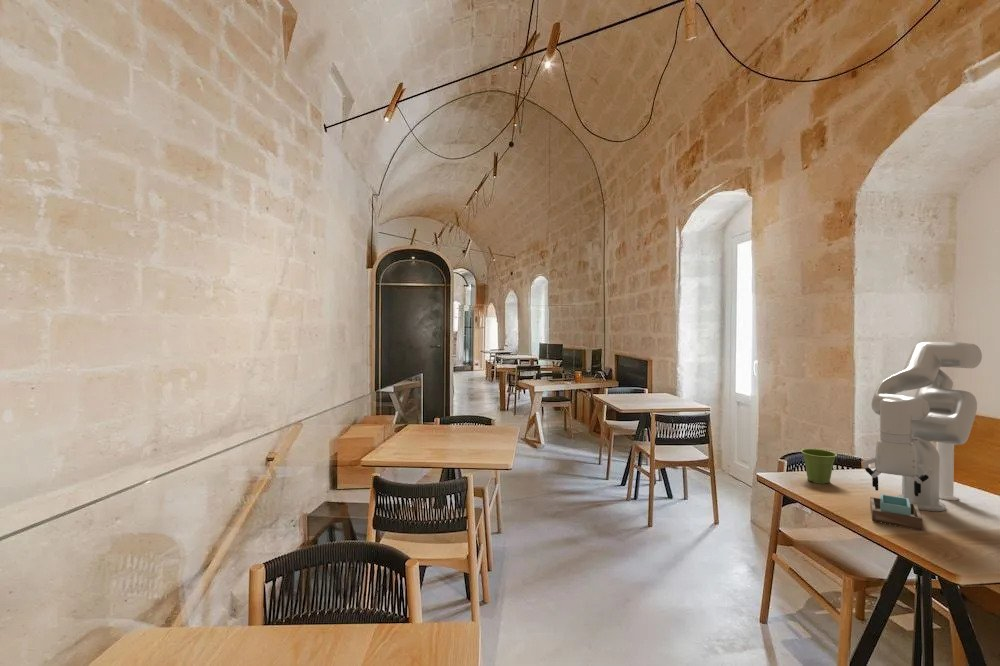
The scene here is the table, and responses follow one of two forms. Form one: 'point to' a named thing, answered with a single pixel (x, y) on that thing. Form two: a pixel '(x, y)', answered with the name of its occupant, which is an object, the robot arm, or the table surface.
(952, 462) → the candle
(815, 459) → the plant pot
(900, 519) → the walnut crate
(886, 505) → the teal crate
